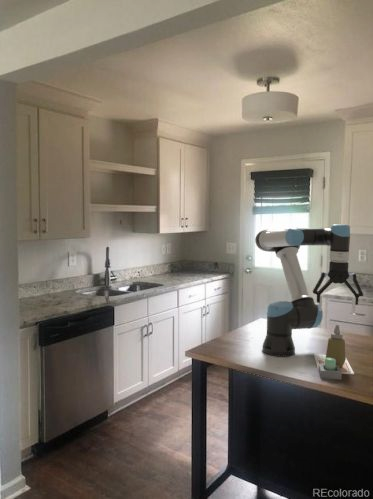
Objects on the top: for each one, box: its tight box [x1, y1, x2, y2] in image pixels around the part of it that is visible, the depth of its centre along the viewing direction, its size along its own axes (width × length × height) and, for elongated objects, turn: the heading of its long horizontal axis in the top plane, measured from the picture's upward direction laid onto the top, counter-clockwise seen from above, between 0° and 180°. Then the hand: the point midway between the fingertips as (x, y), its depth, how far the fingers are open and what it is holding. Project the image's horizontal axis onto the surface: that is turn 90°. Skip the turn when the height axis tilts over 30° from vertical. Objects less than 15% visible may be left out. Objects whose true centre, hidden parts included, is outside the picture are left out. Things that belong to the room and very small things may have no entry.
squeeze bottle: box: [325, 324, 347, 368], centre depth 180 cm, size 8×8×18 cm
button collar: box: [317, 364, 343, 381], centre depth 172 cm, size 8×8×3 cm
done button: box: [324, 358, 336, 371], centre depth 172 cm, size 4×4×5 cm
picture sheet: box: [313, 353, 355, 375], centre depth 185 cm, size 14×21×1 cm, turn 169°
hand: (336, 311), depth 179 cm, fingers open, 13 cm apart
